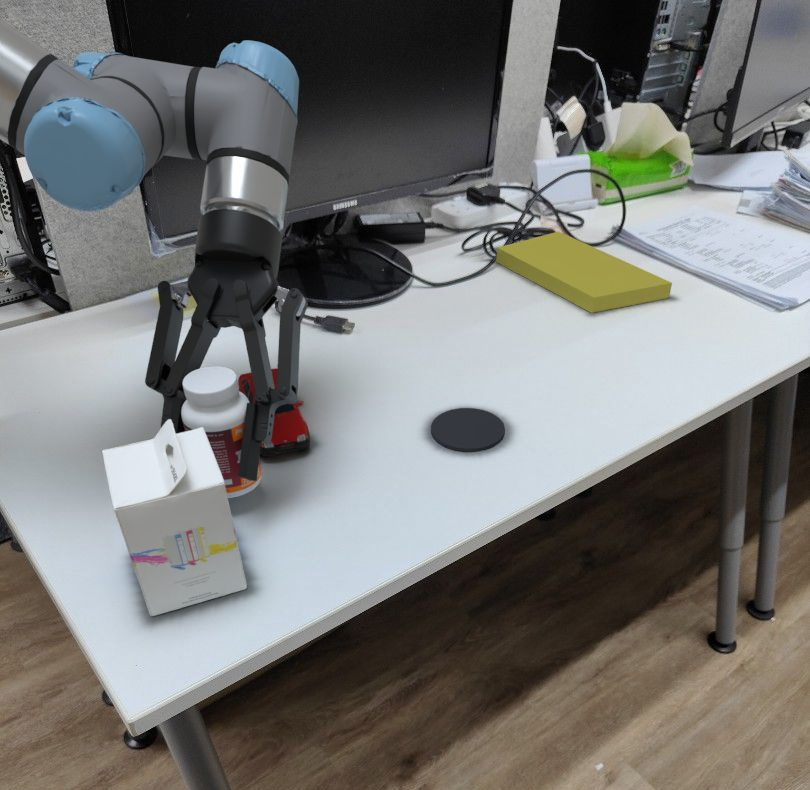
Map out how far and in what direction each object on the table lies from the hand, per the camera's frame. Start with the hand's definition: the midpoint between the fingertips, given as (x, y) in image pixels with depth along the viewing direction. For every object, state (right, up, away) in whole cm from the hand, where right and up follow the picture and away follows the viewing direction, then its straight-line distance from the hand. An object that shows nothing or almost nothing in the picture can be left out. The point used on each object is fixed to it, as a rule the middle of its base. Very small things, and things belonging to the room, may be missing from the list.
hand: (211, 474), depth 68 cm
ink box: (-1, -9, -1) cm, 9 cm away
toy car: (+3, +7, +16) cm, 17 cm away
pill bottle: (+1, 0, +5) cm, 5 cm away
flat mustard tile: (+43, +32, +44) cm, 70 cm away
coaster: (+24, +6, +14) cm, 29 cm away
